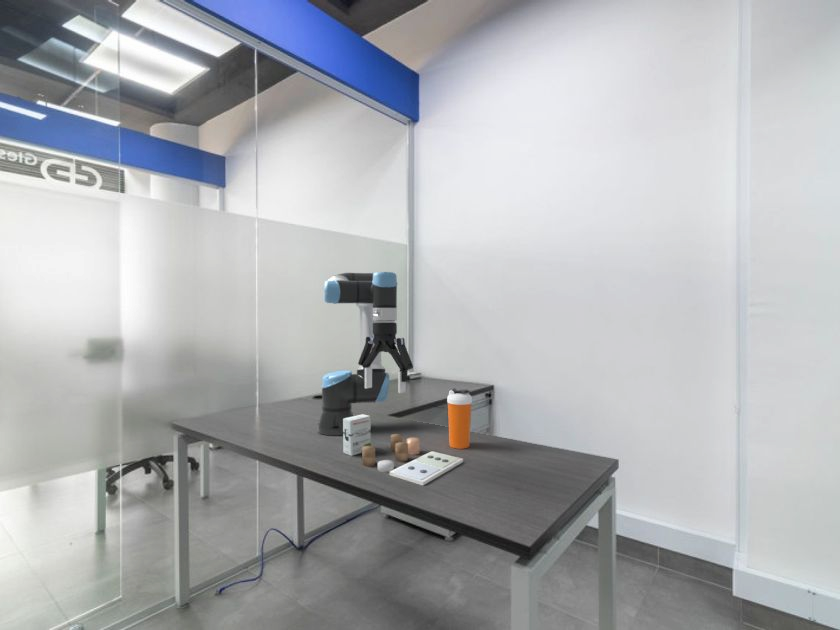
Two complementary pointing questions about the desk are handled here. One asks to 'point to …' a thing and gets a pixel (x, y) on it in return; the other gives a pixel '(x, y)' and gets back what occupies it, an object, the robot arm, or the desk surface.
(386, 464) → the light gray rounded ball
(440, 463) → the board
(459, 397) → the shaker bottle
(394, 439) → the brown rounded capsule
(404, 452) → the brown rounded capsule
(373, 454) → the tan rounded capsule
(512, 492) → the desk surface
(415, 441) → the peach rounded capsule
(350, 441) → the ink box
